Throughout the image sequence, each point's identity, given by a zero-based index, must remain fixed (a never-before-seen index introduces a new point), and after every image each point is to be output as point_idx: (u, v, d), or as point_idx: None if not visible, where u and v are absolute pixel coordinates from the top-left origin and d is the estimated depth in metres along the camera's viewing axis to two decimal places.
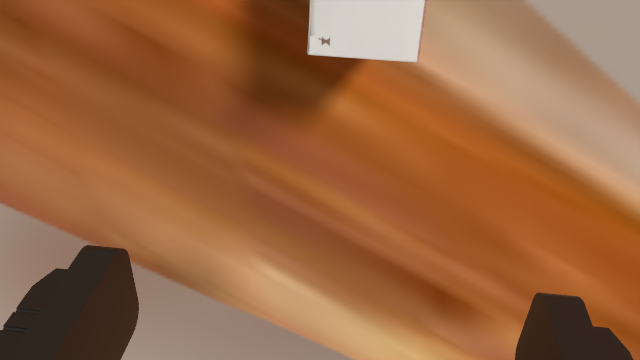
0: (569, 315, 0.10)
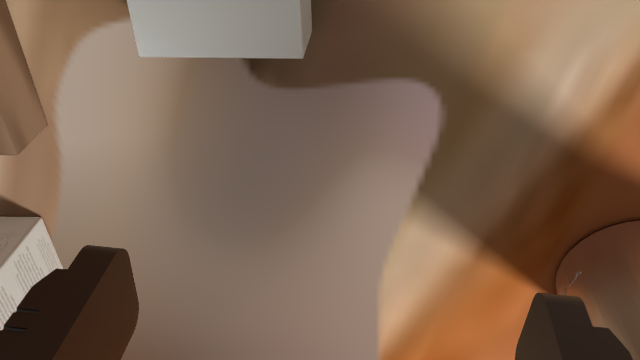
0: (569, 315, 0.10)
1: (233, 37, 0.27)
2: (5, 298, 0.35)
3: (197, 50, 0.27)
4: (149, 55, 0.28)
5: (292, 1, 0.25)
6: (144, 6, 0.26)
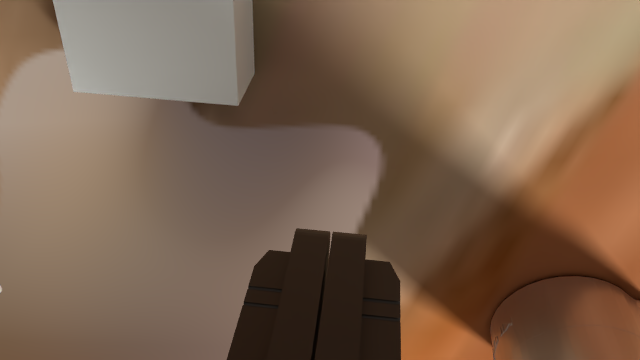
0: (348, 248, 0.11)
1: (168, 80, 0.26)
2: None
3: (132, 90, 0.27)
4: (84, 91, 0.27)
5: (228, 50, 0.25)
6: (79, 43, 0.26)
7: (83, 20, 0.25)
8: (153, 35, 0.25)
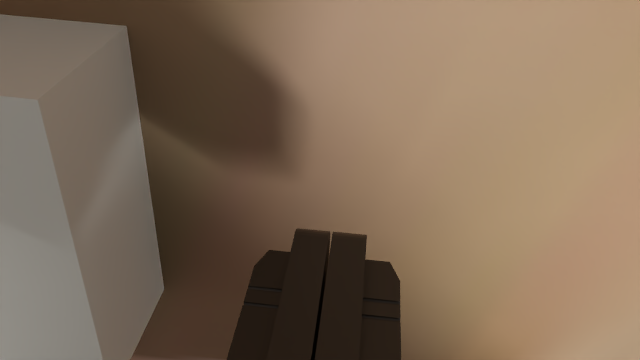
0: (348, 248, 0.11)
1: None
2: None
3: None
4: None
5: (78, 319, 0.12)
6: None
7: None
8: None
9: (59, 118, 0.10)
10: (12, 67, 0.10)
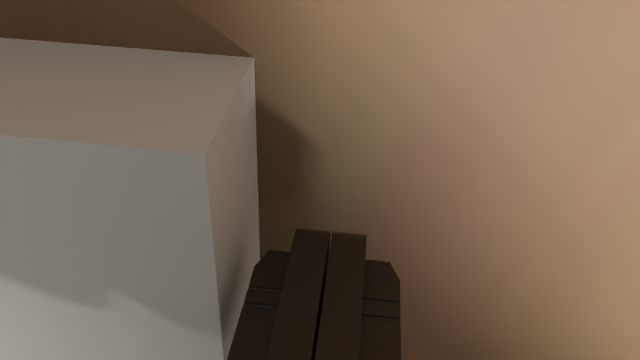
0: (348, 248, 0.11)
1: None
2: None
3: None
4: None
5: None
6: None
7: None
8: (47, 341, 0.12)
9: (215, 168, 0.09)
10: (159, 112, 0.10)
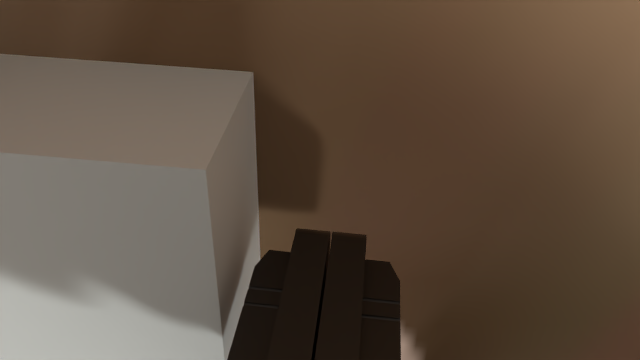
0: (347, 248, 0.11)
1: None
2: None
3: None
4: None
5: None
6: None
7: None
8: (51, 351, 0.12)
9: (216, 183, 0.09)
10: (160, 129, 0.10)
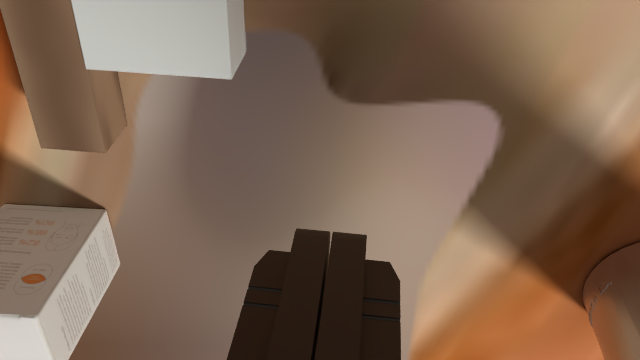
0: (348, 248, 0.11)
1: (170, 57, 0.30)
2: (77, 285, 0.37)
3: (138, 67, 0.30)
4: (95, 68, 0.31)
5: (222, 29, 0.29)
6: (91, 26, 0.29)
7: (95, 5, 0.29)
8: (156, 17, 0.29)
9: None
10: None
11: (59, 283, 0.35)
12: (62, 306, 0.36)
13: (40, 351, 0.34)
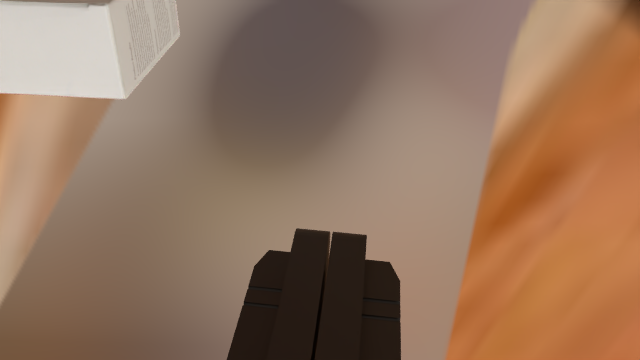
0: (348, 248, 0.11)
1: None
2: (144, 12, 0.34)
3: None
4: None
5: None
6: None
7: None
8: None
9: None
10: None
11: None
12: (130, 20, 0.32)
13: (107, 59, 0.31)
